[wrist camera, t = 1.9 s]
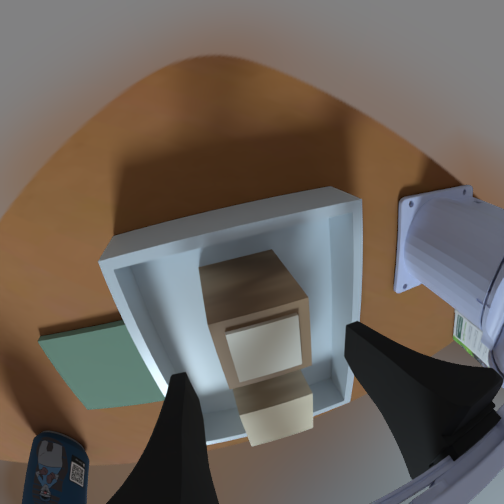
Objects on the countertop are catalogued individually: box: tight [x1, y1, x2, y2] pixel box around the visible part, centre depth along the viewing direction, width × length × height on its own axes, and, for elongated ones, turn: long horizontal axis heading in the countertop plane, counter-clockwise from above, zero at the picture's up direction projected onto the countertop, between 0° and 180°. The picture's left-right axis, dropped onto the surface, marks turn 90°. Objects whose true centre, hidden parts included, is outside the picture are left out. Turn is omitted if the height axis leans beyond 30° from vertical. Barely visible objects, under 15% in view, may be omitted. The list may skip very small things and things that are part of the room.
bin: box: [98, 186, 363, 445], centre depth 18 cm, size 13×17×4 cm
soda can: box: [22, 431, 89, 504], centre depth 16 cm, size 7×7×12 cm
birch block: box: [233, 370, 313, 446], centre depth 18 cm, size 4×4×6 cm
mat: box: [38, 320, 165, 410], centre depth 18 cm, size 8×8×1 cm
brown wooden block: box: [198, 249, 312, 389], centre depth 15 cm, size 4×4×6 cm
